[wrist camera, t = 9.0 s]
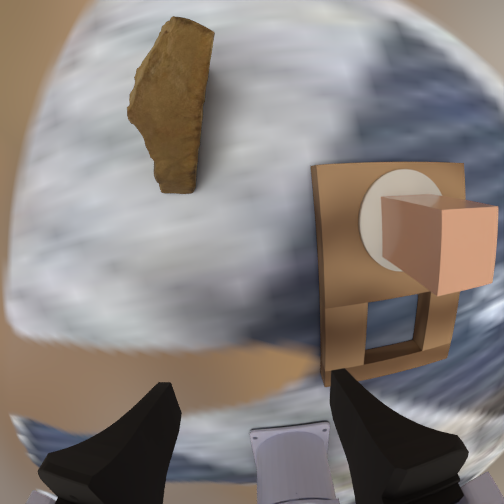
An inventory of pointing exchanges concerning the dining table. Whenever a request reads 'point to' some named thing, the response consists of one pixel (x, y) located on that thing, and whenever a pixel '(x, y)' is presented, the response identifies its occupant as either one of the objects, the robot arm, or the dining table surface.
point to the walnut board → (372, 275)
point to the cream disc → (371, 206)
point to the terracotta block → (440, 240)
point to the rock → (173, 101)
